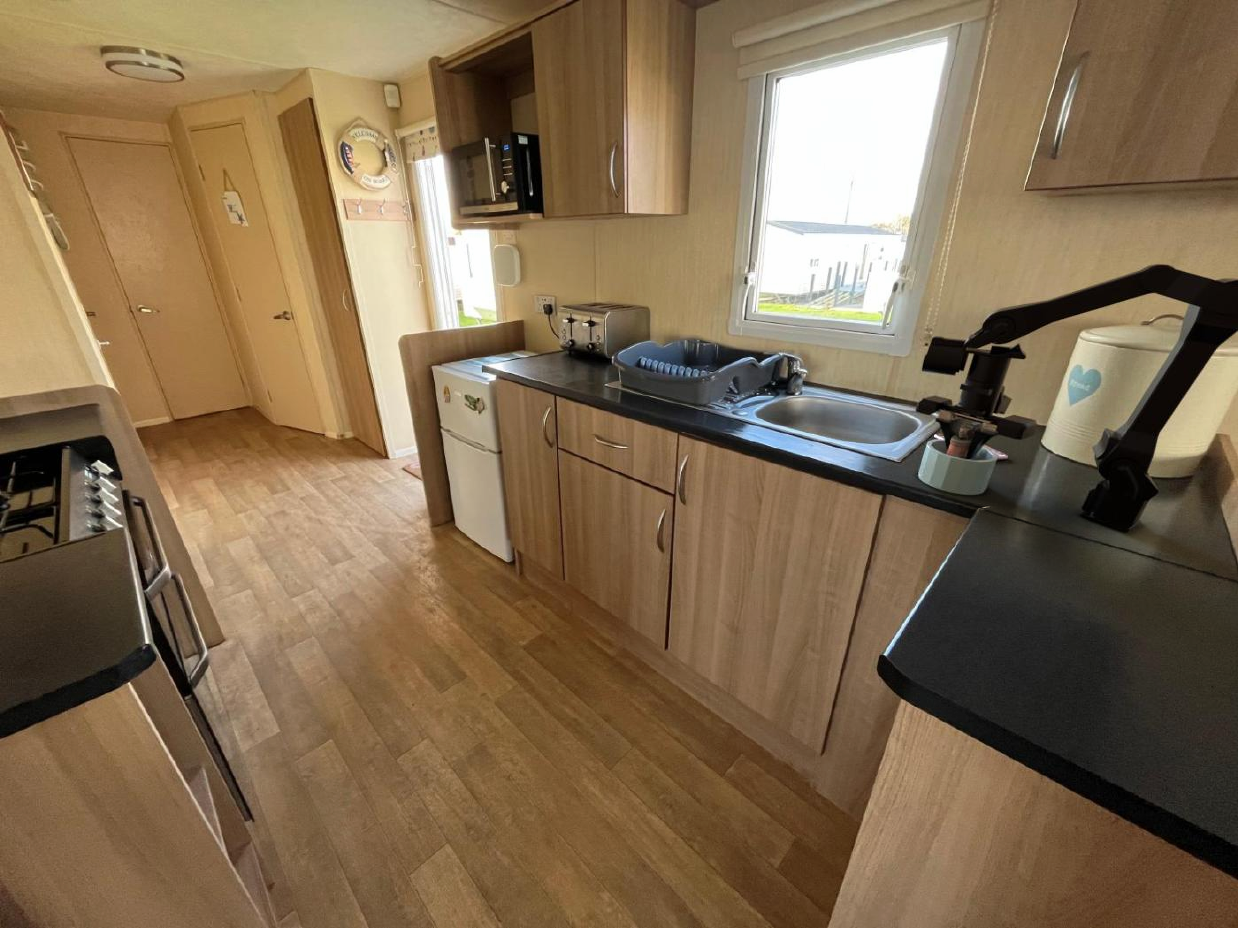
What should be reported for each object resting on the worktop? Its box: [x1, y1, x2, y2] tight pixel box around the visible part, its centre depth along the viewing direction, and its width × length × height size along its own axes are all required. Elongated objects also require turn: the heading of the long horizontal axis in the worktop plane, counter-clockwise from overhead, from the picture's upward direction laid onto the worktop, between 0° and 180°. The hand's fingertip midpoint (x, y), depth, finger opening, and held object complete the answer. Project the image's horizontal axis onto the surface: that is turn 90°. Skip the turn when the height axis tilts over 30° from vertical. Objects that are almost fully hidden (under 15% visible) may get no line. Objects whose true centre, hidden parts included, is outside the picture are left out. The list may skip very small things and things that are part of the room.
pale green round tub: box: [917, 438, 998, 496], centre depth 97 cm, size 12×12×7 cm
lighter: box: [946, 421, 982, 459], centre depth 95 cm, size 8×3×10 cm, turn 124°
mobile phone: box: [933, 433, 1009, 461], centre depth 115 cm, size 8×1×15 cm
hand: (959, 457), depth 96 cm, fingers closed on lighter, 3 cm apart
